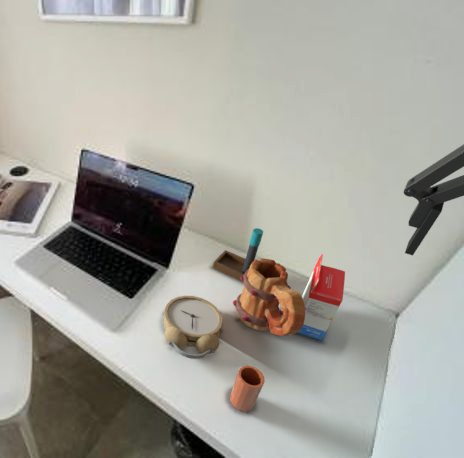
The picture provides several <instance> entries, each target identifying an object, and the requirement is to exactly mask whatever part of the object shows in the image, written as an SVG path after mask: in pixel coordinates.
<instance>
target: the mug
mask: <svg viewBox="0 0 464 458" xmlns="http://www.w3.org/2000/svg"><path fill="white" fill-rule="evenodd" d="M288 278H289V274H288V272H287V268H286V267H285V266H284V265H282V264H281V263H277V262H276V261H275V260H274V259H270V258H261V257H260V258H259V259H255V260H254V261H253V262H252V264H251V266H250V268H249V269H248V270H247V271H246V272H245V274H244V276H241V277H240V280H241V281H242V282H241V281H240V282H241V283H243V288H242V291H241V293H240V294H239V295H238V296H237V297H236V299H235V300H233V301H232V304H233V306H234V307H235V311H236V312H237V314H238V318H239V320H240V321H241V323H243V324H244V325H245V326H247V327H248V328H250V329H253V330H255V331H259V332H264V331H268V330H269V331H270V333H271V334H273V335H275V336H279V337H283V336H290V335H296V334H297V333H298V331H299V330H300V329H301V328H302V326H303V325H304V320H305V306H304V300H303V298H302V294H301V293H300V292H299V291H298V290H295V289H292V287H291V286H290V284H289V283H288Z"/></svg>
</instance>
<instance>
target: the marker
mask: <svg viewBox="0 0 464 458" xmlns="http://www.w3.org/2000/svg"><path fill="white" fill-rule="evenodd" d="M263 235H264V230H263V229H261V228H258V227H255V228H253V229H252V232H251V235H250V239H249V245H248V249H247V253H246V256H245V263H244V267H243V270H242V273H243V274H245V272H246V271H247V270H248V269H249V268H250V266H251V264H252V262H253V261H255V260H256V257H257V253H258V249H259V246H260V245H261V243H262V242H261V241H262V238H263Z"/></svg>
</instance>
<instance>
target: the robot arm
mask: <svg viewBox="0 0 464 458" xmlns="http://www.w3.org/2000/svg"><path fill="white" fill-rule="evenodd" d="M462 168H464V143H463V144H462V145H461V146H459V147H457V148H456V149H454V150H453V151H451V152H449V153H448V154H447V155H445V156H443V157H441V158H440V159H439V160H437V161H436V162H435V163H432V164H431V165H430V166H428V167H427V168H425V169H423V170H422V171H420V172H419V173H417V174H416V175H414V176H413V177H411V178H410V179H409V180H407V182H406V184H405V187H404V189H403V195H404V196H406V197H409V198H414V199H415V200H416V201H418V203H417V205H416V206H415V208H414V210H413V211H412V213H411V214H410V217H409V219H408V226H409V227H412V228H415V231H414V232H413V233H412V235H411V237H410V239H409V240H408V243H407V245H406V248H405V251H404V254H407V255H409V256H410V255H411V256H414V254H415V253H416V251H417V250H418V248H419V247H420V245H421V244H422V243H423V241H424V239H425V238H426V236H427V235H428V233H429V231H430V230H431V228H432V227H433V225H434V224H435V223H436V221H437V220H438V218H439V216H440V215H441V213H442V211H443V208H444V204H445V203H446V202H449V201H452V200H455V199H459V198H461V197H464V174H462V175H460V176H457V177H454V178H452V179H450V180H446V181H443V180H444V179H445V178H447V177H449V176H451V175H452V174H454V173H455V172H457V171H459V170H461V169H462ZM441 181H443V182H442V183H441ZM439 182H440V183H439ZM438 183H439V184H438Z"/></svg>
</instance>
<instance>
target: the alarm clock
mask: <svg viewBox="0 0 464 458" xmlns="http://www.w3.org/2000/svg"><path fill="white" fill-rule="evenodd" d="M163 315H164V316H163V327H164V329H165V331H164V334H163V335H164V339H165V341H166V343H167V345H169V346H170V347H172V348H173V349H175V351H176V352H177V353H178V354H179V355H181V356H182V357H185V358H187V359H191V360H192V359H193V360H199V359H203V358H205V357H206V356H207V355H211V354H214V353H215V352H216V351H217V350H218V349H219V347H220V345H221V344H220V339H219V337H220V333H221V328H222V324H223V317H222V313H221V311H219V309H218V308H217V306H215V305H214V304H213V303H212V302H210V301H209V300H207V299H205V298H202V297H199V296H195V295H179V296H177V297H174V298H172V299H170V301H169V302H167V304H166V305H165V308H164V314H163ZM186 346H188V347H191V348H195V349H196V350H197V352H198V353H199V354H193V353H188V352H185V351H183V350H182V349H183V348H185V347H186Z"/></svg>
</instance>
